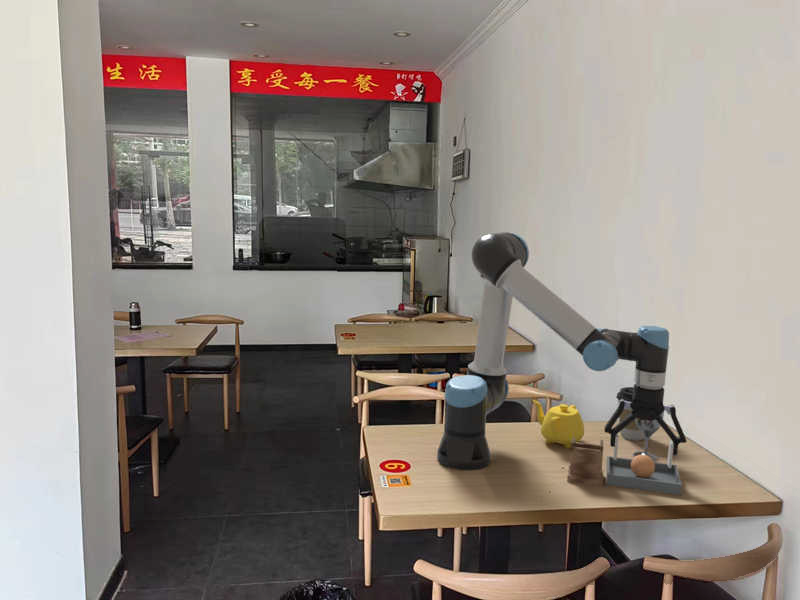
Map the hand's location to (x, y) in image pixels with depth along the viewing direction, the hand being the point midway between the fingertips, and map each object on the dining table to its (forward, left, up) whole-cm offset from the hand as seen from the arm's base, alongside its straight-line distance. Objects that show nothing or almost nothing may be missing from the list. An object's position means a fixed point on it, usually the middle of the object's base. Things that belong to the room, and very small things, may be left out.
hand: (641, 462), depth 166 cm
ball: (0, 0, -4) cm, 4 cm away
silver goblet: (+2, +17, -5) cm, 18 cm away
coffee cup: (-1, +33, -5) cm, 34 cm away
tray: (0, 0, -5) cm, 5 cm away
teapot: (-24, +21, -5) cm, 32 cm away
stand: (-14, -5, -5) cm, 16 cm away
